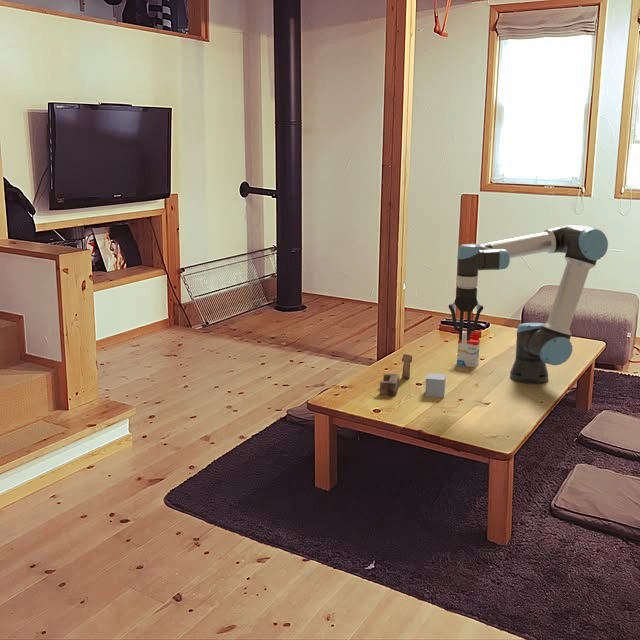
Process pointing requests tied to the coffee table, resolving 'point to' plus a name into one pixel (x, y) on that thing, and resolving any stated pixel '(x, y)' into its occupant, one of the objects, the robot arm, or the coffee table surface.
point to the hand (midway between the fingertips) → (463, 348)
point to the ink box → (469, 351)
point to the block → (435, 385)
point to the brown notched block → (389, 384)
